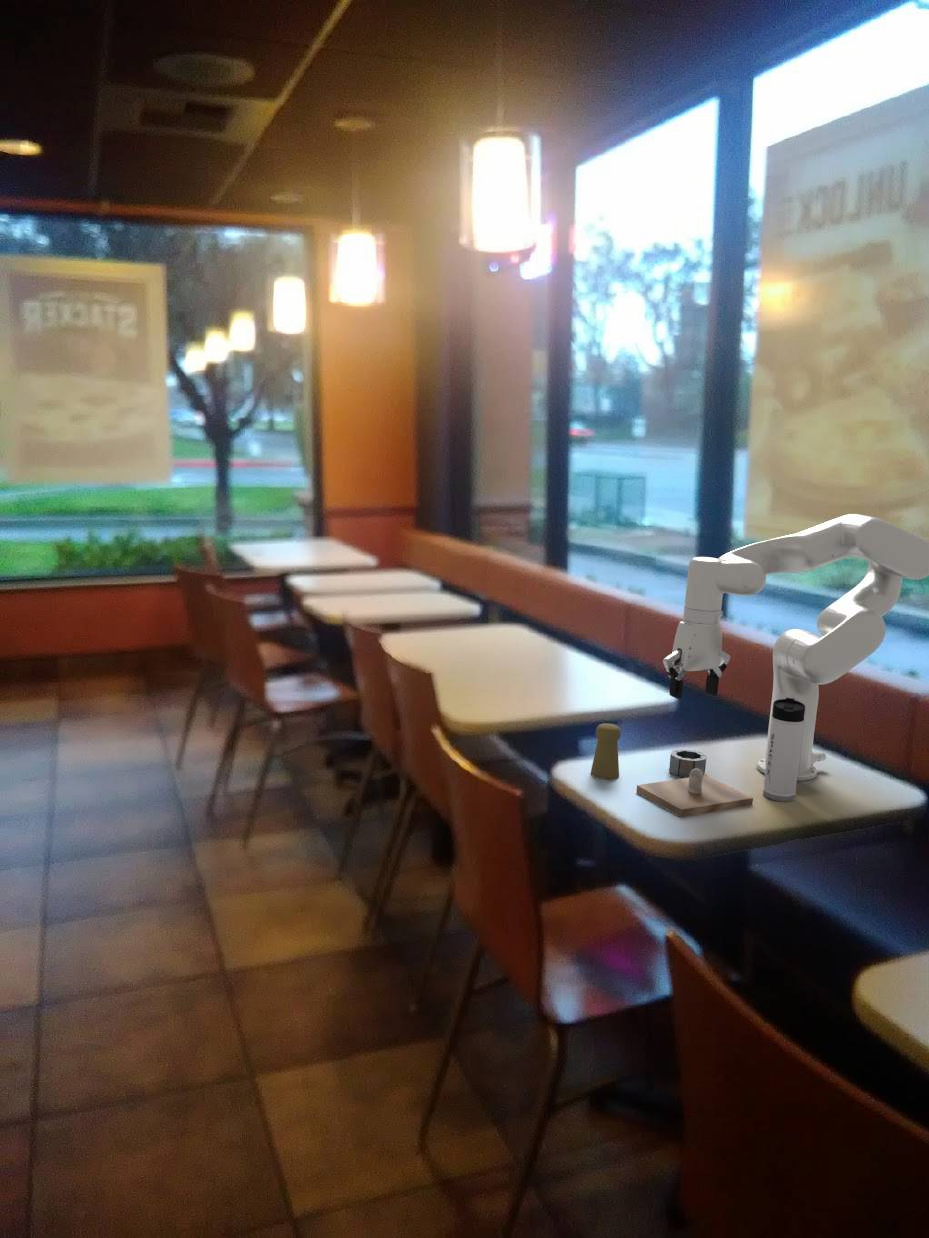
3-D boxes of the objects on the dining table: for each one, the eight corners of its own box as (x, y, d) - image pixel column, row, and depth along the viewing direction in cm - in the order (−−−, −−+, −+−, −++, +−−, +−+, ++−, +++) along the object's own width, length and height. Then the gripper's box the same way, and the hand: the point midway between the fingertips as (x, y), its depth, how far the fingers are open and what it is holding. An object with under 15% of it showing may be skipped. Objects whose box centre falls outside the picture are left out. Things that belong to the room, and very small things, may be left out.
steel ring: (689, 765, 226) (690, 747, 225) (711, 776, 219) (713, 758, 218) (662, 769, 222) (664, 751, 221) (684, 780, 216) (686, 762, 215)
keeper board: (705, 781, 215) (708, 753, 214) (752, 804, 203) (755, 774, 202) (636, 792, 207) (639, 762, 206) (681, 817, 195) (684, 785, 194)
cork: (618, 781, 213) (622, 730, 211) (589, 777, 214) (593, 727, 212) (620, 771, 219) (624, 722, 217) (591, 768, 220) (595, 719, 218)
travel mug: (795, 793, 211) (806, 699, 207) (794, 803, 205) (805, 707, 201) (763, 788, 213) (774, 695, 209) (762, 798, 207) (772, 703, 203)
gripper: (721, 611, 221) (712, 688, 225) (657, 614, 213) (649, 693, 217) (745, 618, 215) (736, 697, 218) (680, 621, 207) (672, 703, 210)
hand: (693, 695), depth 217 cm, fingers open, 9 cm apart
